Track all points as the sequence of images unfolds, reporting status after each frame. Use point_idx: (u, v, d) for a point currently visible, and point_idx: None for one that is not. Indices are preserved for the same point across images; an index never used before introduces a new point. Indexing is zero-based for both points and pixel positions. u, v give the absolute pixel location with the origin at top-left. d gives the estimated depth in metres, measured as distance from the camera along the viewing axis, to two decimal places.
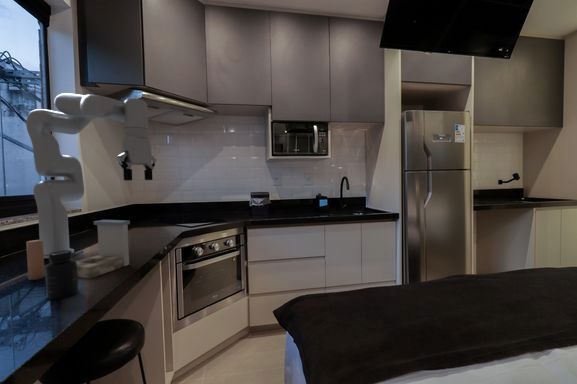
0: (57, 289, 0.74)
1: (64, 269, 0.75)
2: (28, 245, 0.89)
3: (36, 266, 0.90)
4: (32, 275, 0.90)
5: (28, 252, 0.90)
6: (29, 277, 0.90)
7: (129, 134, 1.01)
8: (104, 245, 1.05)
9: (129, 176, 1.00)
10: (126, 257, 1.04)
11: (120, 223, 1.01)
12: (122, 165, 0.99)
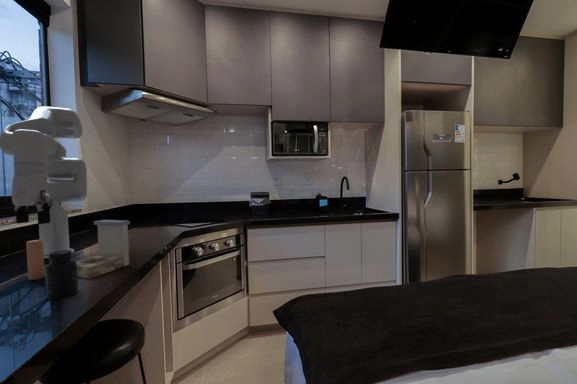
0: (57, 289, 0.74)
1: (64, 269, 0.75)
2: (28, 245, 0.89)
3: (36, 266, 0.90)
4: (32, 275, 0.90)
5: (28, 252, 0.90)
6: (29, 277, 0.90)
7: (39, 171, 0.89)
8: (104, 245, 1.05)
9: None
10: (126, 257, 1.04)
11: (120, 223, 1.01)
12: (48, 207, 0.89)
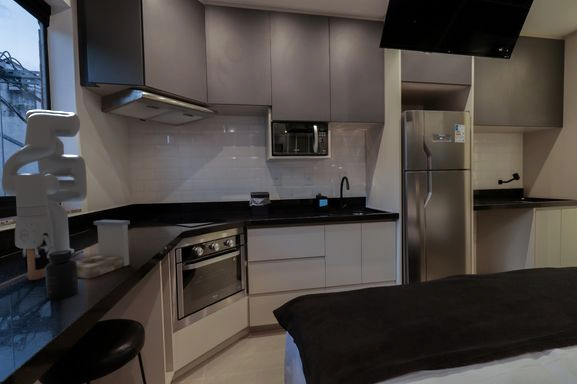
0: (57, 289, 0.74)
1: (64, 269, 0.75)
2: None
3: None
4: (32, 275, 0.90)
5: (28, 252, 0.90)
6: (29, 277, 0.90)
7: (42, 214, 0.90)
8: (104, 245, 1.05)
9: (45, 263, 0.92)
10: (126, 257, 1.04)
11: (120, 223, 1.01)
12: (45, 253, 0.90)
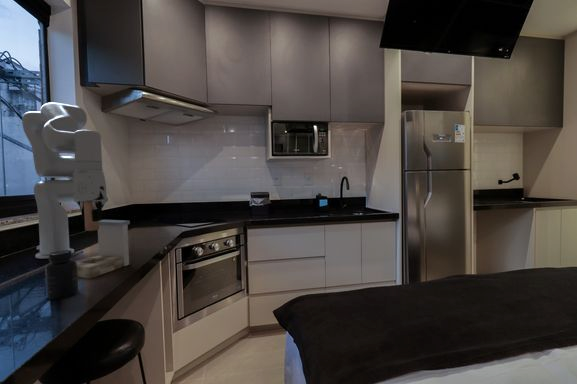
0: (57, 289, 0.74)
1: (64, 269, 0.75)
2: None
3: None
4: (89, 226, 0.95)
5: (85, 204, 0.95)
6: (86, 228, 0.95)
7: (98, 169, 0.95)
8: (104, 245, 1.05)
9: None
10: (126, 257, 1.04)
11: (120, 223, 1.01)
12: (101, 205, 0.96)
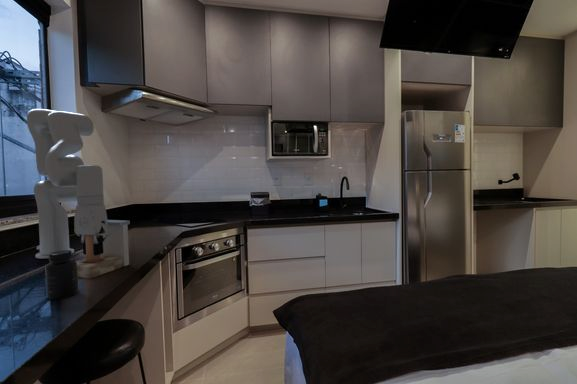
0: (57, 289, 0.74)
1: (64, 269, 0.75)
2: None
3: None
4: (90, 260, 0.96)
5: (87, 239, 0.95)
6: (87, 262, 0.96)
7: (100, 203, 0.96)
8: (104, 245, 1.05)
9: None
10: (126, 257, 1.04)
11: (120, 223, 1.01)
12: (102, 239, 0.96)
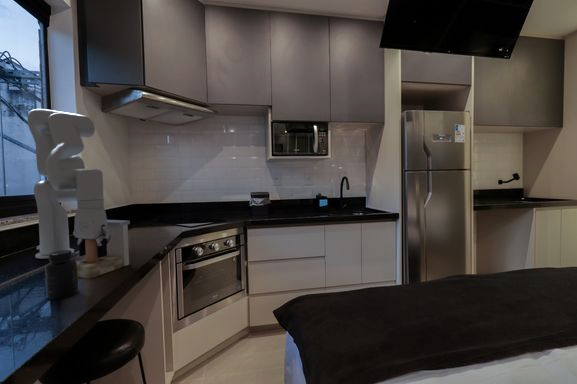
0: (57, 289, 0.74)
1: (64, 269, 0.75)
2: (87, 240, 0.95)
3: (94, 260, 0.96)
4: None
5: (87, 247, 0.96)
6: None
7: (100, 207, 0.96)
8: None
9: None
10: (126, 257, 1.04)
11: (120, 223, 1.01)
12: (106, 241, 0.96)
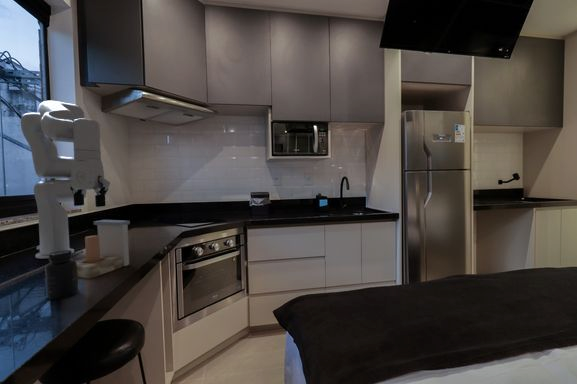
0: (57, 289, 0.74)
1: (64, 269, 0.75)
2: (87, 240, 0.95)
3: (94, 260, 0.96)
4: None
5: (87, 247, 0.96)
6: None
7: (96, 158, 0.96)
8: (104, 245, 1.05)
9: None
10: (126, 257, 1.04)
11: (120, 223, 1.01)
12: (104, 191, 0.96)
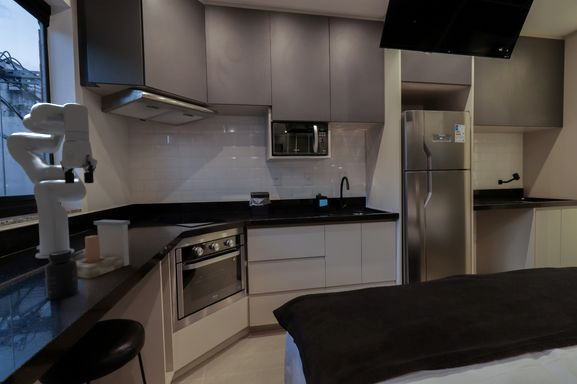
0: (57, 289, 0.74)
1: (64, 269, 0.75)
2: (87, 240, 0.95)
3: (94, 260, 0.96)
4: None
5: (87, 247, 0.96)
6: None
7: (85, 139, 1.06)
8: (104, 245, 1.05)
9: None
10: (126, 257, 1.04)
11: (120, 223, 1.01)
12: (92, 169, 1.05)
